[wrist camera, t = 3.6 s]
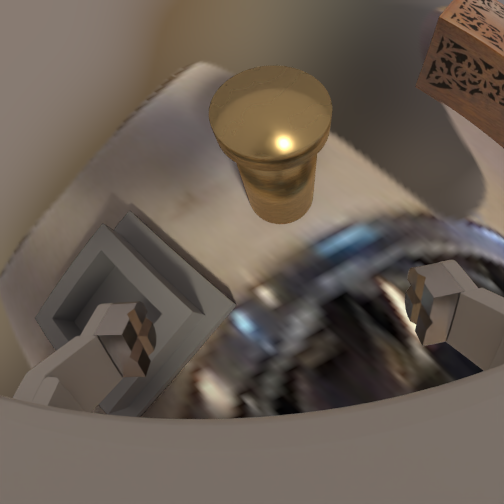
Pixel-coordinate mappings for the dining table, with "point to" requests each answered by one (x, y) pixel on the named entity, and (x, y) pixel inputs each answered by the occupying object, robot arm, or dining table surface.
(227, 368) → the dining table surface
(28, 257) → the dining table surface
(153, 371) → the socket block
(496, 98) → the tissue box cover
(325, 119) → the gold stepped cylinder
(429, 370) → the dining table surface
